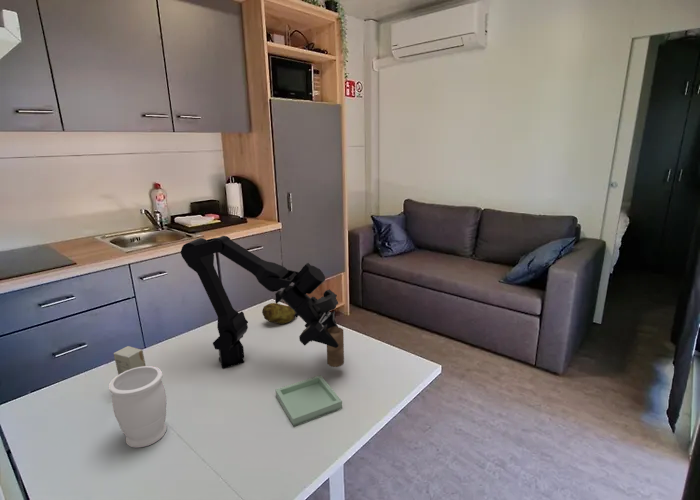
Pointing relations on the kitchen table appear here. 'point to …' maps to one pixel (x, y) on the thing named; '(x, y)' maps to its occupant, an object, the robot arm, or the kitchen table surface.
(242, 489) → the kitchen table surface
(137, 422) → the jar
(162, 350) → the kitchen table surface
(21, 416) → the kitchen table surface
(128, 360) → the skincare box
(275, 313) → the potato
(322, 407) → the tray
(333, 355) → the mill
